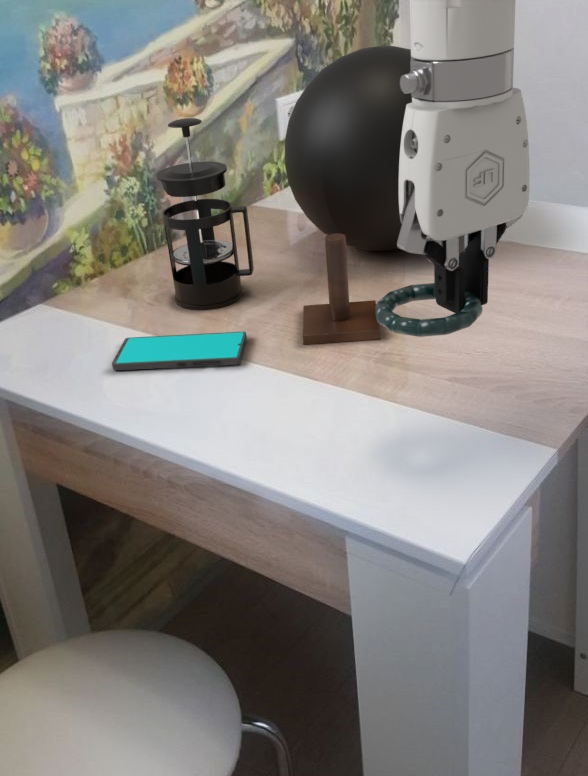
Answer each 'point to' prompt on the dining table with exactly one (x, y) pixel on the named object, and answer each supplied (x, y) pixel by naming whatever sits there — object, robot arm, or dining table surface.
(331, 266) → the brown peg stand
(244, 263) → the dining table surface
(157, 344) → the smartphone
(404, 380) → the dining table surface
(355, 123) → the ball
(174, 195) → the french press
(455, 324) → the ring
